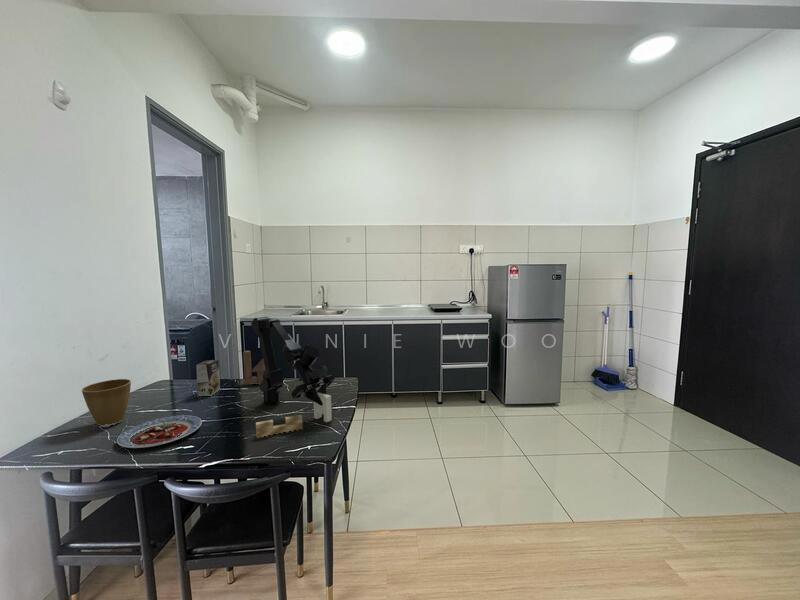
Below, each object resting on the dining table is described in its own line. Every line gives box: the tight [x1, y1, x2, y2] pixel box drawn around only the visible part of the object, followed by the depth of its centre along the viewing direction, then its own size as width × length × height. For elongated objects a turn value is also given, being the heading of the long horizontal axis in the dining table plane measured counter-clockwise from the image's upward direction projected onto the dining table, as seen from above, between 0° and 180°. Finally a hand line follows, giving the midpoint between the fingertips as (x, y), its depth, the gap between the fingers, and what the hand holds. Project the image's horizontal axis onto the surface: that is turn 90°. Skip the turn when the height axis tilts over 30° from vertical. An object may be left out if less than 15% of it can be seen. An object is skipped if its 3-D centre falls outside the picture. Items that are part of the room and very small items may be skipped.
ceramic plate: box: [116, 414, 203, 449], centre depth 128 cm, size 26×26×3 cm
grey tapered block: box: [313, 391, 333, 423], centre depth 139 cm, size 8×2×10 cm, turn 55°
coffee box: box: [195, 359, 221, 397], centre depth 171 cm, size 9×6×16 cm
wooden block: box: [242, 350, 265, 385], centre depth 185 cm, size 4×11×18 cm, turn 95°
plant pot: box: [81, 378, 132, 425], centre depth 138 cm, size 15×15×16 cm
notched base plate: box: [255, 414, 304, 439], centre depth 128 cm, size 16×2×5 cm, turn 115°
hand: (324, 403), depth 138 cm, fingers closed on grey tapered block, 2 cm apart
